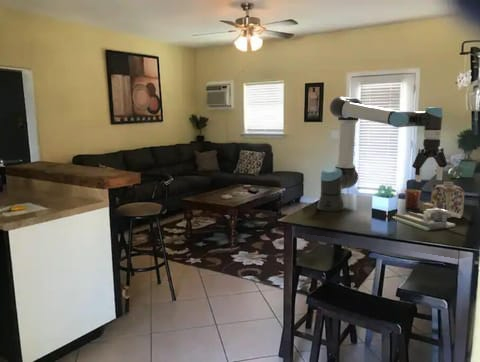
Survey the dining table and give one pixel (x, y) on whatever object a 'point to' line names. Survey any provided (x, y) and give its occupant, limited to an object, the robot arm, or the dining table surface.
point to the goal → (434, 224)
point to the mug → (412, 198)
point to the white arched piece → (435, 211)
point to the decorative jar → (448, 198)
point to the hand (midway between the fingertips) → (428, 180)
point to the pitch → (416, 220)
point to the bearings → (441, 216)
